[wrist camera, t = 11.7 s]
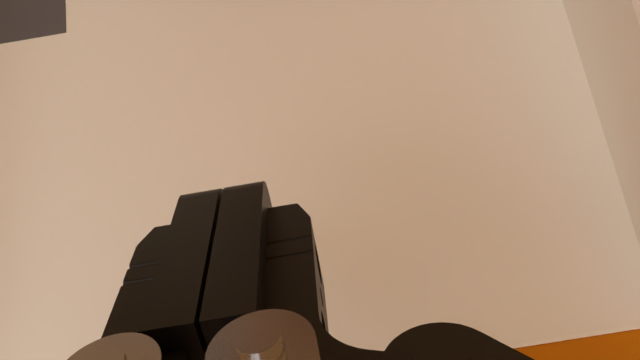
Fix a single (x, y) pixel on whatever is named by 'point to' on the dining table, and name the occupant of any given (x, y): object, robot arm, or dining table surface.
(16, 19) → the mat
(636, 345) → the dining table surface
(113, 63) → the shallow white tray
